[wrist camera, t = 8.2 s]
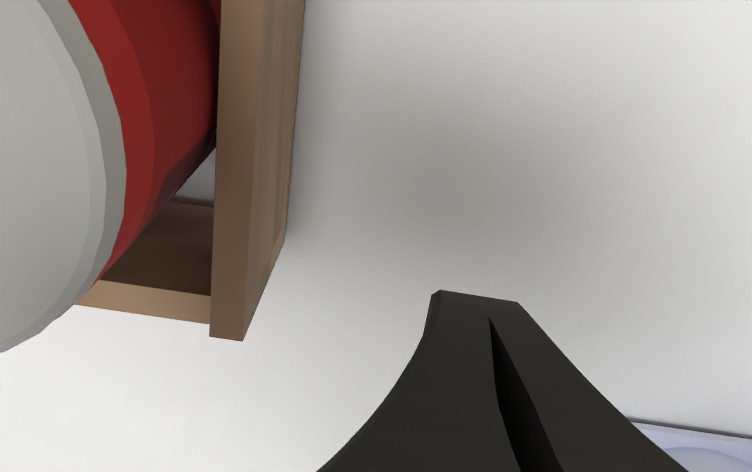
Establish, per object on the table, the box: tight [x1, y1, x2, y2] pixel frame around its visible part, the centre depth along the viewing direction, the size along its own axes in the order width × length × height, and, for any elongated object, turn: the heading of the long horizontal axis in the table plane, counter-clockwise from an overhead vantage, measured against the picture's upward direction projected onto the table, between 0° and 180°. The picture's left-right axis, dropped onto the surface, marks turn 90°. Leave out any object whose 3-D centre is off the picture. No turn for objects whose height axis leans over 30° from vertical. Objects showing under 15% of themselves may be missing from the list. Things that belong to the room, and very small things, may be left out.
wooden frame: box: [74, 0, 305, 341], centre depth 16 cm, size 12×13×6 cm
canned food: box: [0, 0, 221, 353], centre depth 14 cm, size 8×8×11 cm
